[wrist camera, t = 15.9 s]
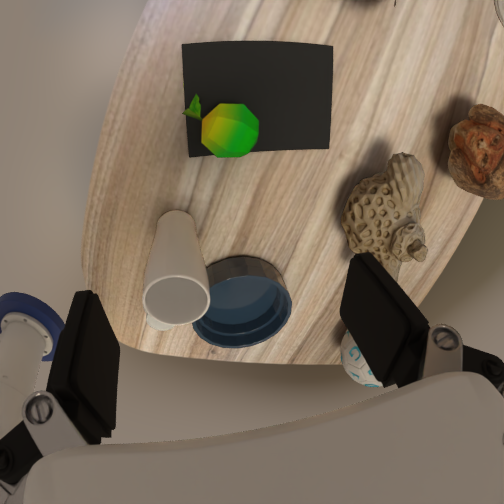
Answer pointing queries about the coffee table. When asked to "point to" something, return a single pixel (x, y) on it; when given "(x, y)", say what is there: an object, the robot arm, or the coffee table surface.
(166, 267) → the drinking glass
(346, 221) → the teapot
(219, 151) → the apple
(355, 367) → the puzzle ball
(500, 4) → the chess piece
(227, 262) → the bowl
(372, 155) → the coffee table surface
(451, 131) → the sculpture
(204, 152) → the mat
